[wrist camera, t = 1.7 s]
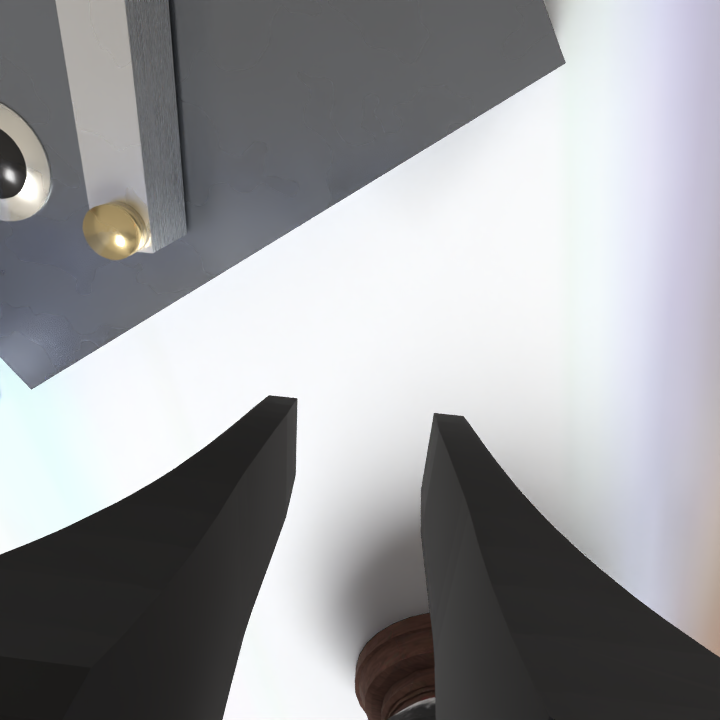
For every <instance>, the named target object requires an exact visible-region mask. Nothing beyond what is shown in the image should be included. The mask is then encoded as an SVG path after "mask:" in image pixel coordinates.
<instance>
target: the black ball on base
mask: <svg viewBox="0 0 720 720" xmlns="http://www.w3.org/2000/svg"><path fill="white" fill-rule="evenodd" d="M355 693H356V696H357V698H358V701H359V704H360V706H361V707H362V708H363V710H364V711H365V713H366V714H367V717H368V720H436V708H435V662H434V647H433V634H432V626H431V617H430V613H427V614H422V615H417V616H413V617H409V618H407V619H404V620H402V621H399V622H396V623H394V624H392V625H390V626H388V627H387V628H385V629H383V630H382V631H380V632H378V633H377V634H376V635H375V636H374V637H373V638H372V639H371V640H370V641H369V642H368V643H367V644H366V645H365V647H364V648H363V650H362V652H361V653H360V655H359V658H358V662H357V665H356V674H355Z"/></svg>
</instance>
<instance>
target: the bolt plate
mask: <svg viewBox="0 0 720 720" xmlns="http://www.w3.org/2000/svg"><path fill="white" fill-rule="evenodd" d="M168 1H169V14H170V27H171V39H172V52H173V64H174V77H175V90H176V102H177V115H178V128H179V140H180V153H181V165H182V178H183V191H184V203H185V216H186V229H187V234H186V235H184V236H183V237H181V238H179V239H177V240H176V241H174V242H172V243H170V244H169V245H167V246H165V247H163V248H161V249H160V250H158V251H156V252H154V253H144V252H136V253H134V254H132V255H130V256H128V257H126V258H124V259H121V260H110V259H107V258H104V257H102V256H100V255H99V254H97V253H96V252H95V251H94V250H93V249H92V248H91V247H90V246H89V244H88V243H87V241H86V239H85V236H84V233H83V219H84V217H85V215H86V213H87V212H88V211H89V203H88V197H87V191H86V185H85V179H84V173H83V167H82V160H81V154H80V148H79V142H78V136H77V130H76V124H75V118H74V111H73V105H72V99H71V93H70V87H69V81H68V75H67V69H66V62H65V56H64V50H63V44H62V38H61V32H60V26H59V19H58V13H57V7H56V1H55V0H0V357H1V358H2V359H3V360H4V361H5V363H6V364H7V365H8V366H9V367H10V368H11V369H12V370H13V371H14V372H15V373H16V374H17V375H18V376H19V377H20V378H21V379H22V380H23V381H24V382H25V383H26V384H27V385H28V387H29V388H30V389H33V388H35V387H36V386H38V385H40V384H41V383H43V382H44V381H46V380H48V379H49V378H51V377H53V376H54V375H56V374H58V373H59V372H61V371H62V370H64V369H66V368H67V367H69V366H71V365H72V364H74V363H76V362H77V361H79V360H80V359H82V358H84V357H85V356H87V355H89V354H90V353H92V352H94V351H95V350H97V349H98V348H100V347H102V346H103V345H105V344H107V343H108V342H110V341H112V340H113V339H115V338H116V337H118V336H120V335H121V334H123V333H125V332H126V331H128V330H130V329H131V328H133V327H134V326H136V325H138V324H139V323H141V322H143V321H144V320H146V319H148V318H149V317H151V316H152V315H154V314H156V313H157V312H159V311H161V310H162V309H164V308H166V307H167V306H169V305H170V304H172V303H174V302H175V301H177V300H179V299H180V298H182V297H184V296H185V295H187V294H188V293H190V292H192V291H193V290H195V289H197V288H198V287H200V286H202V285H203V284H205V283H206V282H208V281H210V280H211V279H213V278H215V277H216V276H218V275H220V274H221V273H223V272H224V271H226V270H228V269H229V268H231V267H233V266H234V265H236V264H238V263H239V262H241V261H242V260H244V259H246V258H247V257H249V256H251V255H252V254H254V253H256V252H257V251H259V250H260V249H262V248H264V247H265V246H267V245H269V244H270V243H272V242H274V241H275V240H277V239H278V238H280V237H282V236H283V235H285V234H287V233H288V232H290V231H292V230H293V229H295V228H296V227H298V226H300V225H301V224H303V223H305V222H306V221H308V220H310V219H311V218H313V217H315V216H316V215H318V214H319V213H321V212H323V211H324V210H326V209H328V208H329V207H331V206H333V205H334V204H336V203H337V202H339V201H341V200H342V199H344V198H346V197H347V196H349V195H351V194H352V193H354V192H355V191H357V190H359V189H360V188H362V187H364V186H365V185H367V184H369V183H370V182H372V181H373V180H375V179H377V178H378V177H380V176H382V175H383V174H385V173H387V172H388V171H390V170H391V169H393V168H395V167H396V166H398V165H400V164H401V163H403V162H405V161H406V160H408V159H409V158H411V157H413V156H414V155H416V154H418V153H419V152H421V151H423V150H424V149H426V148H427V147H429V146H431V145H432V144H434V143H436V142H437V141H439V140H441V139H442V138H444V137H445V136H447V135H449V134H450V133H452V132H454V131H455V130H457V129H459V128H460V127H462V126H463V125H465V124H467V123H468V122H470V121H472V120H473V119H475V118H477V117H478V116H480V115H481V114H483V113H485V112H486V111H488V110H490V109H491V108H493V107H495V106H496V105H498V104H499V103H501V102H503V101H504V100H506V99H508V98H509V97H511V96H513V95H514V94H516V93H517V92H519V91H521V90H522V89H524V88H526V87H527V86H529V85H531V84H532V83H534V82H535V81H537V80H539V79H540V78H542V77H544V76H545V75H547V74H549V73H550V72H552V71H553V70H555V69H557V68H558V67H560V66H562V65H563V64H565V60H564V57H563V54H562V52H561V49H560V46H559V43H558V41H557V38H556V35H555V33H554V30H553V27H552V24H551V22H550V19H549V16H548V13H547V11H546V8H545V5H544V3H543V0H168Z"/></svg>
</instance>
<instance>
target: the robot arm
mask: <svg viewBox="0 0 720 720" xmlns="http://www.w3.org/2000/svg"><path fill="white" fill-rule="evenodd" d="M296 435H297V398H289V397H280V396H270V395H269V396H268V397H266V398H265V399H264V400H262V401H261V402H260V403H259V404H257V405H256V406H255V407H254V408H253V409H252V410H250V411H249V412H248V413H247V414H246V415H244V416H243V417H242V418H241V419H240V420H238V421H237V422H236V423H235V424H234V425H232V426H231V427H230V428H229V429H227V430H226V431H225V432H224V433H222V434H221V435H220V436H219V437H217V438H216V439H215V440H213V441H212V442H211V443H210V444H208V445H207V446H206V447H204V448H203V449H202V450H200V451H199V452H197V453H196V454H195V455H193V456H192V457H190V458H189V459H188V460H186V461H185V462H183V463H182V464H180V465H179V466H178V467H176V468H175V469H173V470H172V471H170V472H169V473H167V474H165V475H164V476H162V477H161V478H159V479H157V480H156V481H154V482H152V483H151V484H149V485H147V486H145V487H144V488H142V489H140V490H139V491H137V492H135V493H133V494H132V495H130V496H128V497H126V498H124V499H122V500H121V501H119V502H117V503H115V504H113V505H111V506H109V507H107V508H105V509H103V510H101V511H98V512H96V513H94V514H92V515H90V516H88V517H86V518H84V519H82V520H80V521H78V522H76V523H74V524H72V525H70V526H68V527H66V528H63V529H61V530H59V531H57V532H54V533H52V534H50V535H47V536H45V537H43V538H40V539H38V540H36V541H33V542H31V543H28V544H26V545H23V546H21V547H18V548H16V549H13V550H11V551H8V552H6V553H3V554H1V555H0V720H222V719H223V715H224V711H225V707H226V703H227V699H228V695H229V691H230V687H231V683H232V679H233V676H234V672H235V668H236V664H237V660H238V656H239V652H240V649H241V645H242V641H243V637H244V634H245V631H246V628H247V624H248V621H249V618H250V615H251V612H252V609H253V607H254V604H255V601H256V598H257V596H258V593H259V590H260V587H261V585H262V582H263V579H264V576H265V574H266V571H267V568H268V565H269V563H270V560H271V557H272V554H273V552H274V549H275V546H276V543H277V541H278V538H279V535H280V532H281V529H282V527H283V524H284V521H285V518H286V515H287V510H288V506H289V502H290V498H291V493H292V489H293V484H294V480H295V475H296ZM421 538H422V547H423V556H424V565H425V574H426V582H427V591H428V600H429V608H430V617H431V626H432V634H433V647H434V662H435V708H436V720H720V657H718V656H717V655H715V654H714V653H712V652H711V651H709V650H708V649H706V648H705V647H704V646H702V645H701V644H699V643H698V642H696V641H695V640H694V639H692V638H691V637H689V636H688V635H686V634H685V633H684V632H682V631H681V630H679V629H678V628H676V627H675V626H673V625H672V624H671V623H669V622H668V621H666V620H665V619H664V618H662V617H661V616H659V615H658V614H657V613H655V612H654V611H653V610H651V609H650V608H649V607H647V606H646V605H645V604H643V603H642V602H641V601H639V600H638V599H637V598H635V597H634V596H633V595H632V594H630V593H629V592H628V591H627V590H625V589H624V588H623V587H622V586H620V585H619V584H618V583H617V582H615V581H614V580H613V579H612V578H611V577H609V576H608V575H607V574H606V573H604V572H603V571H602V570H601V569H599V568H598V567H597V566H596V565H595V564H594V563H593V562H591V561H590V560H589V559H588V558H587V557H586V556H584V555H583V554H582V553H581V552H580V551H579V550H578V549H577V548H576V547H575V546H574V545H573V544H571V543H570V542H569V541H568V540H567V539H566V538H565V537H564V536H563V535H562V534H561V533H560V532H559V531H558V530H557V529H555V528H554V527H553V526H552V525H551V523H550V522H549V521H548V520H547V519H546V518H545V517H544V516H543V515H542V514H541V513H540V512H539V511H538V510H537V509H536V508H535V507H534V506H533V504H532V503H531V502H530V501H529V500H528V499H527V498H526V497H525V496H524V495H523V494H522V492H521V491H520V490H519V489H518V488H517V487H516V485H515V484H514V483H513V482H512V480H511V479H510V478H509V477H508V475H507V474H506V473H505V472H504V470H503V469H502V468H501V467H500V465H499V464H498V463H497V461H496V460H495V459H494V458H493V456H492V455H491V453H490V452H489V451H488V449H487V448H486V447H485V445H484V444H483V443H482V441H481V440H480V438H479V437H478V436H477V434H476V433H475V431H474V430H473V428H472V427H471V426H470V424H469V423H468V422H467V420H466V419H465V418H464V416H457V415H447V414H438V413H434V416H433V422H432V428H431V434H430V440H429V446H428V452H427V458H426V464H425V470H424V475H423V481H422V487H421Z"/></svg>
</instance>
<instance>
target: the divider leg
mask: <svg viewBox="0 0 720 720" xmlns="http://www.w3.org/2000/svg"><path fill="white" fill-rule="evenodd" d="M55 1H56V7H57V13H58V19H59V26H60V32H61V38H62V44H63V50H64V56H65V62H66V69H67V75H68V81H69V87H70V93H71V99H72V105H73V111H74V118H75V124H76V130H77V136H78V142H79V148H80V154H81V160H82V167H83V173H84V179H85V185H86V191H87V197H88V203H89V211H88V212H87V213H86V215H85V217H84V219H83V233H84V236H85V239H86V241H87V243H88V244H89V246H90V247H91V248H92V249H93V250H94V251H95V252H96V253H97V254H99V255H100V256H102V257H104V258H107V259H110V260H121V259H124V258H126V257H128V256H130V255H132V254H134V253H136V252H144V253H154V252H156V251H158V250H160V249H161V248H163V247H165V246H167V245H169V244H170V243H172V242H174V241H176V240H177V239H179V238H181V237H183V236H184V235H186V234H187V229H186V216H185V203H184V191H183V178H182V165H181V153H180V140H179V128H178V115H177V102H176V90H175V77H174V64H173V52H172V39H171V27H170V14H169V1H168V0H55Z"/></svg>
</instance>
